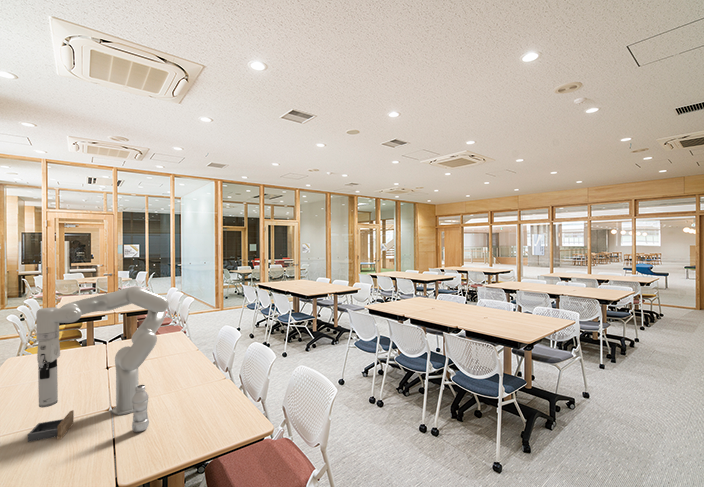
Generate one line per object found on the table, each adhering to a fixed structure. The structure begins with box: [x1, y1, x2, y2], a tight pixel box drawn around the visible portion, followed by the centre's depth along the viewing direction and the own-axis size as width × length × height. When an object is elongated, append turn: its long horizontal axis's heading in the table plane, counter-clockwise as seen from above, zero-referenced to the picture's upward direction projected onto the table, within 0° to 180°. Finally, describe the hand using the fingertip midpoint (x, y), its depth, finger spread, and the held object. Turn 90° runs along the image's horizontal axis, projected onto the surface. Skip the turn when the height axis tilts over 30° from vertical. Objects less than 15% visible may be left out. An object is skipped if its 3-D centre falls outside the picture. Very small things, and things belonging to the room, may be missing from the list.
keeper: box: [27, 418, 64, 443], centre depth 147 cm, size 11×10×3 cm
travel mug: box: [37, 358, 59, 408], centre depth 147 cm, size 6×7×20 cm
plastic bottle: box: [131, 384, 150, 433], centre depth 149 cm, size 6×7×20 cm
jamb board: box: [57, 410, 75, 441], centre depth 149 cm, size 1×14×6 cm, turn 23°
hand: (48, 375), depth 147 cm, fingers closed on travel mug, 6 cm apart
